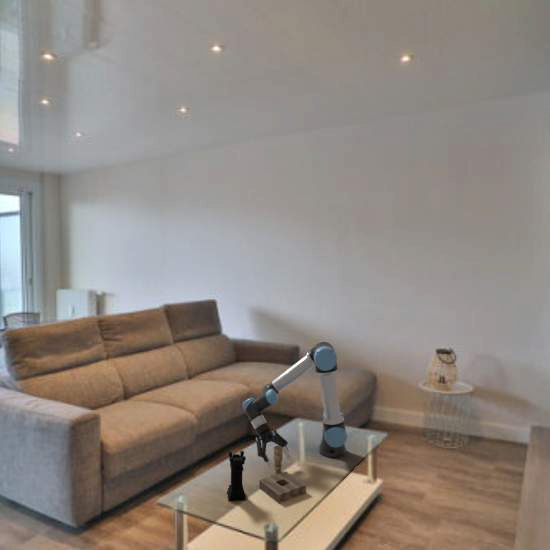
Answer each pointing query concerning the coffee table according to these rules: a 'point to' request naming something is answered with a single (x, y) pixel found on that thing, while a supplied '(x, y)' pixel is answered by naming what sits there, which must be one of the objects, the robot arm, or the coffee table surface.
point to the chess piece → (236, 477)
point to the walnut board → (282, 487)
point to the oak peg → (278, 458)
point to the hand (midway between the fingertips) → (280, 462)
